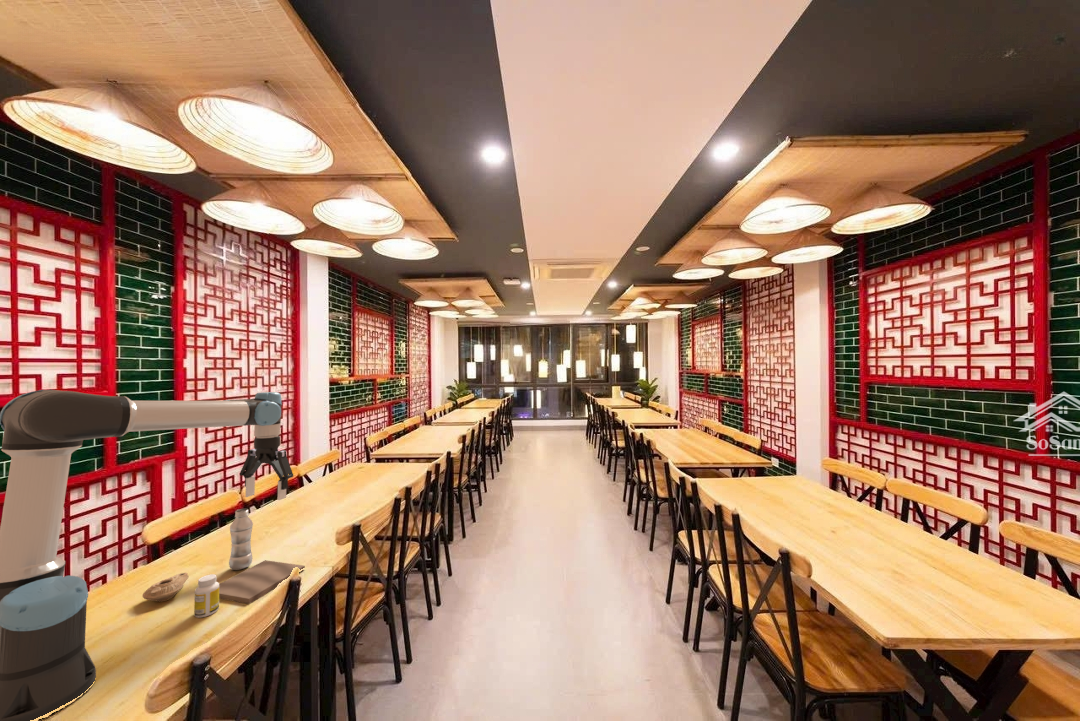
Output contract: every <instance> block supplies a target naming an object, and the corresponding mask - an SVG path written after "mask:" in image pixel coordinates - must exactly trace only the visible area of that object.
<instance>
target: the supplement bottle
mask: <svg viewBox="0 0 1080 721" xmlns="http://www.w3.org/2000/svg"><path fill="white" fill-rule="evenodd" d="M197 581H198V582H197V587H196V588H195V590H194V602H193V603H194V604H193V607H194V608H193V610H194V613H193V614H194V615H193V616H194V617H195V618H198V619H199V618H205V617H208V616H211V615H214V614H215V613H216V612H218V610H220V609H219V607H220V599H219V584H220V582H218V581H217V575H216V574H213V573H211V574H207V575H204V576H202V577H200V578H199V579H198V580H197Z"/></svg>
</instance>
